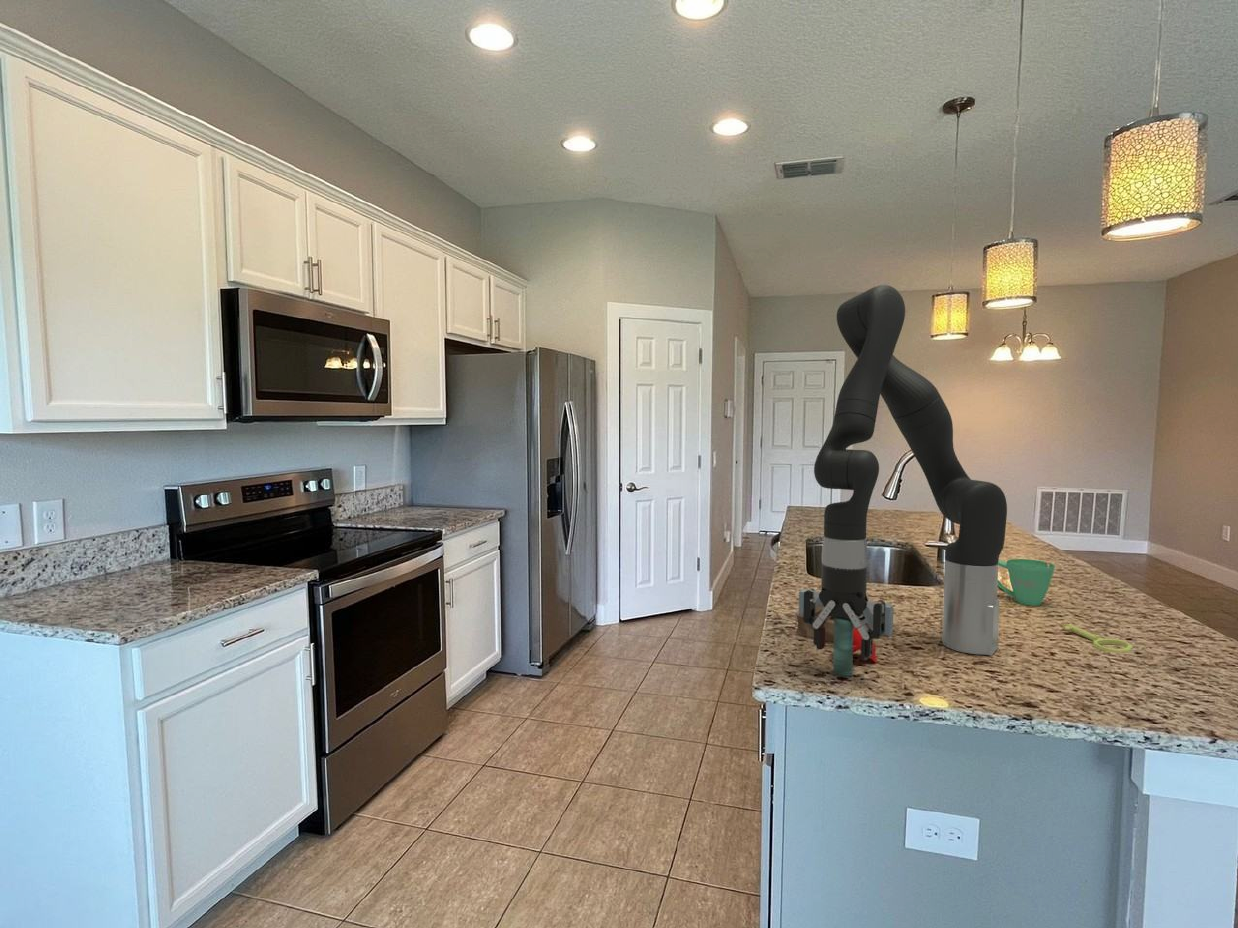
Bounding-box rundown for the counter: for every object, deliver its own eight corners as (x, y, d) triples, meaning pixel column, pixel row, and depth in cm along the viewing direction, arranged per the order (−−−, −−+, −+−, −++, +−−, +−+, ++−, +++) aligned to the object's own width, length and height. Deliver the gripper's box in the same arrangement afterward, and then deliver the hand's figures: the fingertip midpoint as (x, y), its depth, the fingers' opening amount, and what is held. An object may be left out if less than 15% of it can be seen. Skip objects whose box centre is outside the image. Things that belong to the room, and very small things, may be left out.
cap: (831, 647, 115) (861, 634, 112) (829, 626, 120) (858, 614, 117) (854, 678, 116) (884, 666, 113) (852, 656, 121) (880, 645, 119)
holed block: (862, 632, 132) (863, 614, 132) (844, 645, 124) (845, 625, 124) (817, 622, 138) (817, 605, 138) (797, 634, 131) (798, 615, 131)
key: (1067, 632, 133) (1068, 622, 133) (1137, 651, 122) (1137, 640, 122) (1049, 638, 129) (1049, 628, 129) (1119, 657, 119) (1120, 646, 118)
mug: (1059, 603, 152) (1060, 563, 152) (1044, 611, 146) (1046, 569, 146) (993, 591, 164) (995, 554, 163) (977, 597, 158) (979, 559, 157)
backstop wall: (892, 633, 131) (893, 605, 131) (889, 636, 130) (889, 607, 129) (803, 614, 144) (803, 589, 144) (798, 617, 143) (799, 591, 142)
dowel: (855, 672, 111) (856, 617, 110) (848, 678, 108) (849, 622, 108) (837, 668, 113) (838, 614, 112) (830, 673, 110) (831, 618, 110)
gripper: (893, 564, 107) (890, 657, 109) (814, 553, 117) (812, 638, 118) (878, 572, 102) (876, 670, 103) (796, 560, 111) (795, 649, 112)
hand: (842, 653), depth 110 cm, fingers open, 7 cm apart
